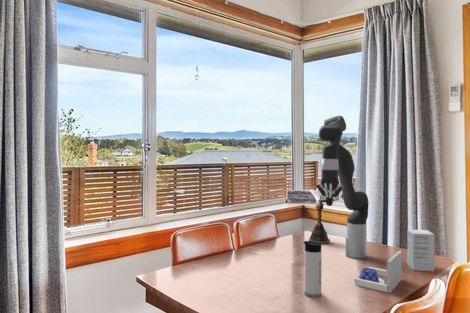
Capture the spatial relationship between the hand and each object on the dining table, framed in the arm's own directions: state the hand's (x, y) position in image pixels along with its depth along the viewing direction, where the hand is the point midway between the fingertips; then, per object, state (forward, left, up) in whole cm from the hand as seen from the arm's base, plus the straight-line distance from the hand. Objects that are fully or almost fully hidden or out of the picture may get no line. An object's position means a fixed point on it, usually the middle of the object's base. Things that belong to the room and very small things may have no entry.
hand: (329, 205), depth 165 cm
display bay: (+24, -6, -29) cm, 38 cm away
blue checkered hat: (+21, -8, -29) cm, 37 cm away
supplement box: (+34, +24, -29) cm, 51 cm away
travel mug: (+8, -34, -29) cm, 45 cm away
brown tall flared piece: (-20, +39, -29) cm, 53 cm away
